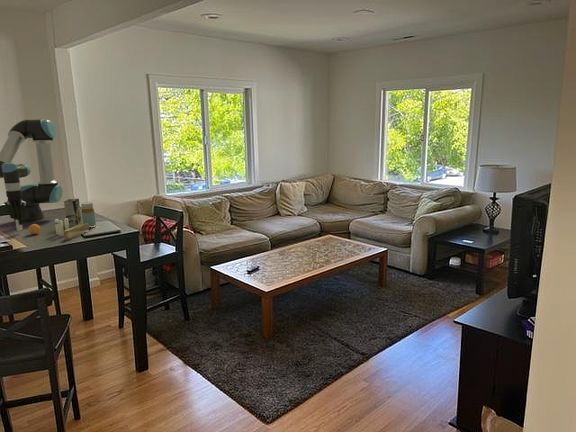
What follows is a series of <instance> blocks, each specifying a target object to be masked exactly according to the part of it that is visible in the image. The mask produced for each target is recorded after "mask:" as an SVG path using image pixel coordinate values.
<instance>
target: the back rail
mask: <svg viewBox="0 0 576 432" xmlns="http://www.w3.org/2000/svg"><path fill="white" fill-rule="evenodd" d="M88 229H89V230H90V228H89V225H88V223H83V222H82V224H80V225H77V226H75V227H69V229H67V230H66V229H65V230H64V229H63V230H64V236H63V237H64V240H65V241H68V240H69V241H71V240H72V239H75V238H78V237H79V236H82V235H83V234H82V233H83V232H84V231H86V230H88ZM81 234H82V235H81Z"/></svg>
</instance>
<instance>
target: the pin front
mask: <svg viewBox="0 0 576 432" xmlns="http://www.w3.org/2000/svg"><path fill="white" fill-rule="evenodd" d="M58 221H59V218H56V219H54V226H55V234H56V236H60V230H59V223H58Z"/></svg>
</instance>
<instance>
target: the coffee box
mask: <svg viewBox="0 0 576 432" xmlns="http://www.w3.org/2000/svg"><path fill="white" fill-rule="evenodd" d="M63 206H64V212H65V218H68V223H69V228H72V227H75V226H77V225H80V224H82V223H83V219H82V211H81V206H80V198H70V199H67V200H64V201H63Z"/></svg>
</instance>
